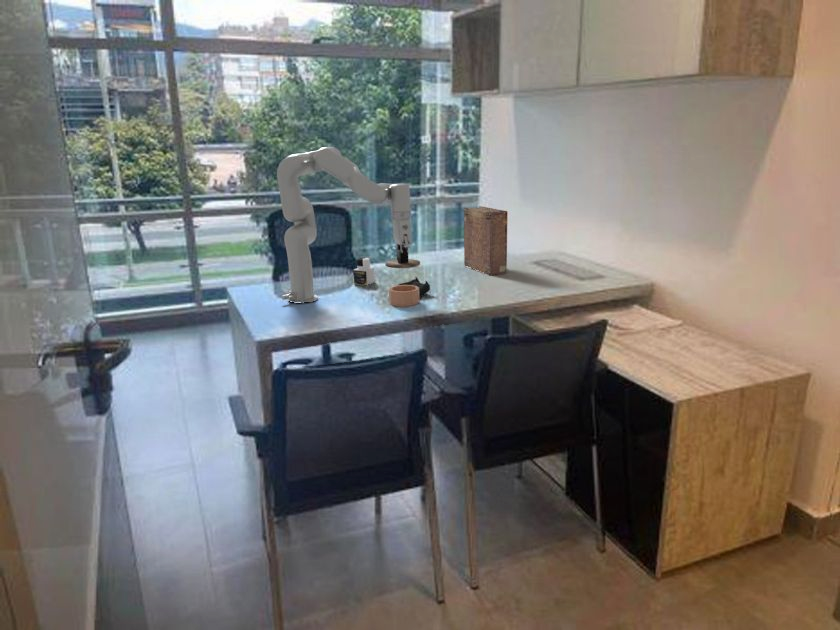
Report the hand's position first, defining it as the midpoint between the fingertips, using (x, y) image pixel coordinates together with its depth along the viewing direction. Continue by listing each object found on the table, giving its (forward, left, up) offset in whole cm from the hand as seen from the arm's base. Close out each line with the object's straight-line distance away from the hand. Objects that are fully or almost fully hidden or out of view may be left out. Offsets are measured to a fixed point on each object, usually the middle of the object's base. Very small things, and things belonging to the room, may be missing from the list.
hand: (402, 261), depth 251 cm
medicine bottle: (+14, +38, -18) cm, 44 cm away
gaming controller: (+13, +6, -18) cm, 23 cm away
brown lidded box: (+69, +9, -18) cm, 72 cm away
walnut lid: (0, 0, -1) cm, 1 cm away
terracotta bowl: (0, 0, -17) cm, 17 cm away
